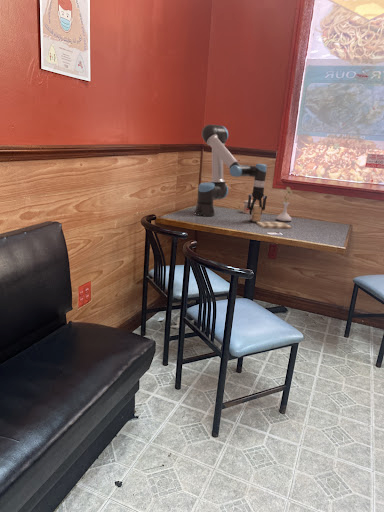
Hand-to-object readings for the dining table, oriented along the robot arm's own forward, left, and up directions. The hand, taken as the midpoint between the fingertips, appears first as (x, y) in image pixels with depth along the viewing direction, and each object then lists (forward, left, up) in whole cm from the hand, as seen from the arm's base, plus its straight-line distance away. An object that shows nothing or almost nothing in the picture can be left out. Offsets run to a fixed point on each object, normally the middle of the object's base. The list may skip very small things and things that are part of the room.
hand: (254, 219), depth 285 cm
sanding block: (0, 0, -1) cm, 1 cm away
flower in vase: (+25, +8, -2) cm, 27 cm away
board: (+9, -13, -2) cm, 16 cm away
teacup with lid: (+7, +33, -2) cm, 33 cm away
